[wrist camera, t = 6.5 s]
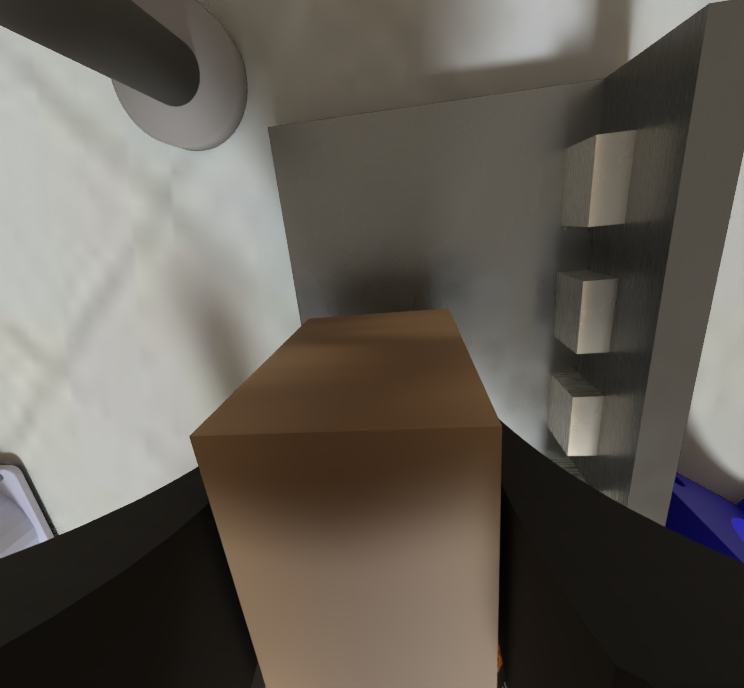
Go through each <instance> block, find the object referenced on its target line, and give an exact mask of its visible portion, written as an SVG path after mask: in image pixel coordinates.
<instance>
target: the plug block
mask: <svg viewBox="0 0 744 688" xmlns="http://www.w3.org/2000/svg"><path fill="white" fill-rule="evenodd" d="M189 437H190V440H191V443H192V447H193V450H194V453H195V456H196V460H197V463H198V466H199V469H200V473H201V476H202V479H203V483H204V486H205V489H206V492H207V496H208V499H209V502H210V505H211V509H212V512H213V515H214V518H215V522H216V525H217V528H218V532H219V535H220V538H221V541H222V545H223V548H224V551H225V554H226V558H227V561H228V564H229V568H230V571H231V574H232V577H233V581H234V584H235V587H236V590H237V594H238V597H239V600H240V604H241V607H242V610H243V613H244V617H245V620H246V623H247V626H248V630H249V633H250V636H251V640H252V643H253V646H254V649H255V653H256V656H257V659H258V662H259V666H260V669H261V672H262V675H263V679H264V682H265V685H266V688H497V657H498V607H499V556H500V506H501V455H502V425H501V423H500V420H499V418H498V416H497V414H496V412H495V409H494V407H493V405H492V403H491V401H490V398H489V396H488V394H487V392H486V390H485V387H484V385H483V383H482V381H481V379H480V376H479V374H478V372H477V370H476V368H475V365H474V363H473V361H472V359H471V357H470V354H469V352H468V350H467V348H466V346H465V343H464V341H463V339H462V337H461V335H460V332H459V330H458V328H457V326H456V324H455V321H454V319H453V317H452V315H451V313H450V310H449V308H446V309H433V310H419V311H405V312H392V313H378V314H365V315H351V316H338V317H324V318H310V319H308V320H307V321H306V322H305V323H304V324H303V325H302V326H301V327H300V328H299V329H298V330H297V331H296V332H295V333H294V334H293V335H292V336H291V337H290V338H289V339H288V340H287V341H286V342H285V343H284V344H283V345H282V346H281V347H280V348H279V349H278V350H277V351H276V352H275V353H274V354H273V355H271V356H270V357H269V358H268V359H267V360H266V361H265V362H264V363H263V364H262V365H261V366H260V367H259V368H258V369H257V370H256V371H255V372H254V373H253V374H252V375H251V376H250V377H249V378H248V379H247V380H246V381H245V382H244V383H243V384H242V385H241V386H240V387H239V388H238V389H237V390H236V391H235V392H234V393H233V394H232V395H231V396H230V397H229V398H228V399H227V400H226V401H225V402H224V403H223V404H222V405H221V406H220V407H219V408H218V409H217V410H216V411H215V412H214V413H213V414H212V415H211V416H210V417H209V418H208V419H206V420H205V421H204V422H203V423H202V424H201V425H200V426H199V427H198V428H197V429H196V430H195V431H194V432H193V433H192V434H191V435H190V436H189Z"/></svg>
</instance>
